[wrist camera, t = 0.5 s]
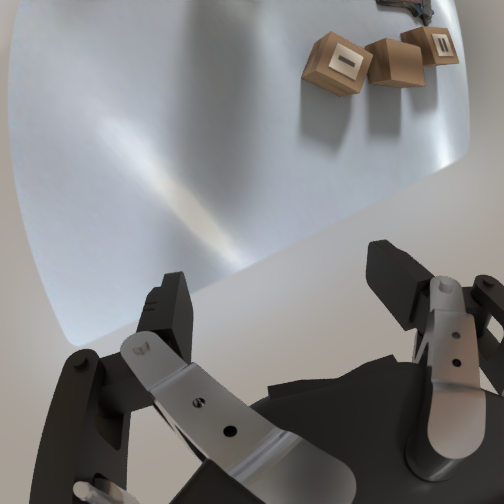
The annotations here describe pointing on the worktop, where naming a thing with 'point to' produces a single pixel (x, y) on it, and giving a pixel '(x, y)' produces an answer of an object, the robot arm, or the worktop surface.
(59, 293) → the worktop surface
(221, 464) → the robot arm
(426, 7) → the pistol
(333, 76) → the labelled block
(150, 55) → the worktop surface
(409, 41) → the labelled block
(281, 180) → the worktop surface
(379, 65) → the plain block
